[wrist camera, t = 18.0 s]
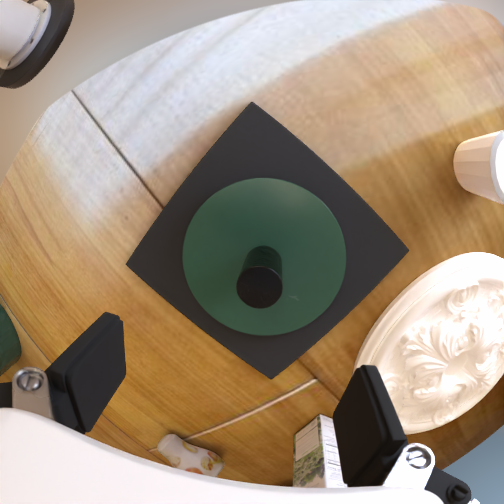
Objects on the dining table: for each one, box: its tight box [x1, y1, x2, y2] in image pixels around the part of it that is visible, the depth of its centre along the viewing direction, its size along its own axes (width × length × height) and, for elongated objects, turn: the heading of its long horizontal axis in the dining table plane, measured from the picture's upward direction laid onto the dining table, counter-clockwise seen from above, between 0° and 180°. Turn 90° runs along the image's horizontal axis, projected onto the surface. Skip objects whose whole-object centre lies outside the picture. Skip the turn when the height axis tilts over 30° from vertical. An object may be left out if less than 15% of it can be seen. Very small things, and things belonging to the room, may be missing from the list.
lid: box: [182, 178, 346, 336], centre depth 23 cm, size 15×15×7 cm
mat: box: [126, 102, 409, 379], centre depth 27 cm, size 20×20×1 cm
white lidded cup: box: [453, 130, 504, 205], centre depth 19 cm, size 7×7×7 cm
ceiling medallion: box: [352, 252, 504, 434], centre depth 27 cm, size 28×28×3 cm
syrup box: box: [293, 414, 347, 488], centre depth 26 cm, size 6×6×14 cm
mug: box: [157, 434, 224, 477], centre depth 33 cm, size 8×10×10 cm
